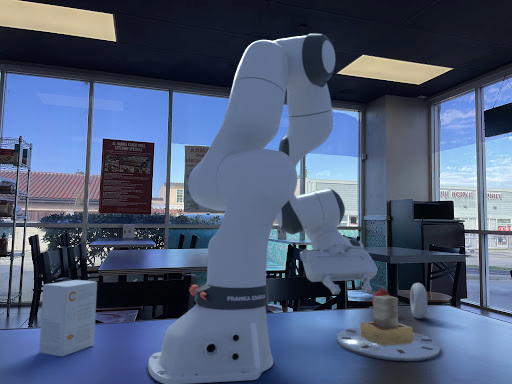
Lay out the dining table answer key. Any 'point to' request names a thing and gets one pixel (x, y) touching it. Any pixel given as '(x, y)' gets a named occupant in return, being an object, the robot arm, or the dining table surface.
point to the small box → (68, 317)
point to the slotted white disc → (388, 342)
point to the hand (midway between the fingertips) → (353, 292)
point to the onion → (381, 293)
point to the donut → (418, 300)
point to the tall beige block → (385, 311)
